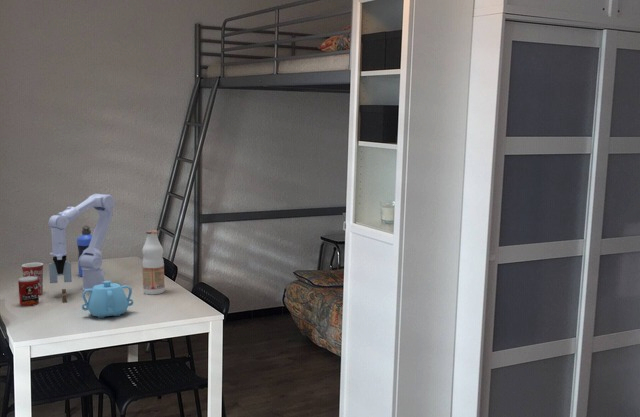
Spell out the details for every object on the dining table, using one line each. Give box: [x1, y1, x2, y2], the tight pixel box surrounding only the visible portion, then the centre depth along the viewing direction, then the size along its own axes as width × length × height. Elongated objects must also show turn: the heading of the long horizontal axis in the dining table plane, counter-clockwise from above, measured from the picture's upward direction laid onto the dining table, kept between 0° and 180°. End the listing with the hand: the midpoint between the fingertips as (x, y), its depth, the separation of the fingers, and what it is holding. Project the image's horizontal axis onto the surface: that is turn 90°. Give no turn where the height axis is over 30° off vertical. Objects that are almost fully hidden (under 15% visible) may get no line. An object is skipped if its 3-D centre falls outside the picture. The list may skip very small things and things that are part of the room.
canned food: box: [17, 276, 40, 307], centre depth 306 cm, size 8×8×11 cm
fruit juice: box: [141, 229, 166, 296], centre depth 323 cm, size 9×9×28 cm
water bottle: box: [76, 225, 94, 278], centre depth 358 cm, size 9×9×25 cm
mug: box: [21, 262, 44, 296], centre depth 323 cm, size 13×9×14 cm
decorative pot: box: [81, 280, 134, 319], centre depth 288 cm, size 16×16×14 cm
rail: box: [61, 288, 68, 303], centre depth 313 cm, size 2×12×3 cm, turn 20°
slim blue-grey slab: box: [48, 261, 73, 284], centre depth 318 cm, size 9×2×8 cm, turn 109°
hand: (60, 273), depth 318 cm, fingers closed on slim blue-grey slab, 2 cm apart
